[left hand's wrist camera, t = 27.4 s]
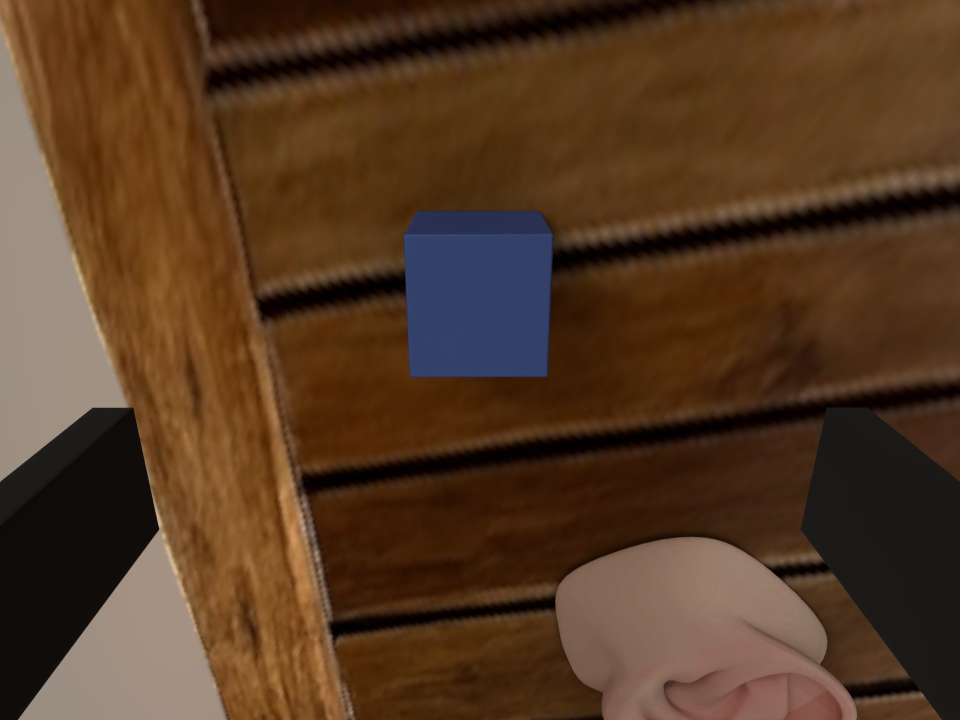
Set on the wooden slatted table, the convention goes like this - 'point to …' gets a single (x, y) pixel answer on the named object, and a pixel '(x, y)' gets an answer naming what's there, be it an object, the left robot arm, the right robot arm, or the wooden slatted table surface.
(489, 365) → the blue cube
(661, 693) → the anatomical model
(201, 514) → the wooden slatted table surface
